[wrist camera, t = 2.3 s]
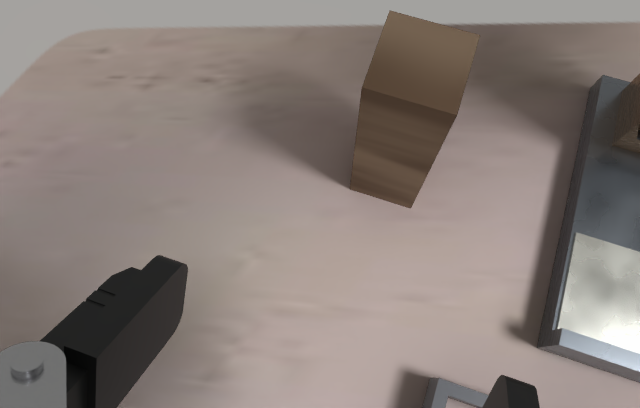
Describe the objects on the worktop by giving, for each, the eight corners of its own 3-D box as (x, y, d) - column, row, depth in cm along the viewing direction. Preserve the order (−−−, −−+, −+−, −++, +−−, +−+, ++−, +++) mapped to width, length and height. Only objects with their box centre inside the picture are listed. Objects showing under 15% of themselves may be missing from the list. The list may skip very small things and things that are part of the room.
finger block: (371, 127, 31) (393, 0, 20) (429, 145, 30) (483, 24, 20) (349, 188, 30) (361, 87, 19) (410, 208, 29) (456, 115, 19)
